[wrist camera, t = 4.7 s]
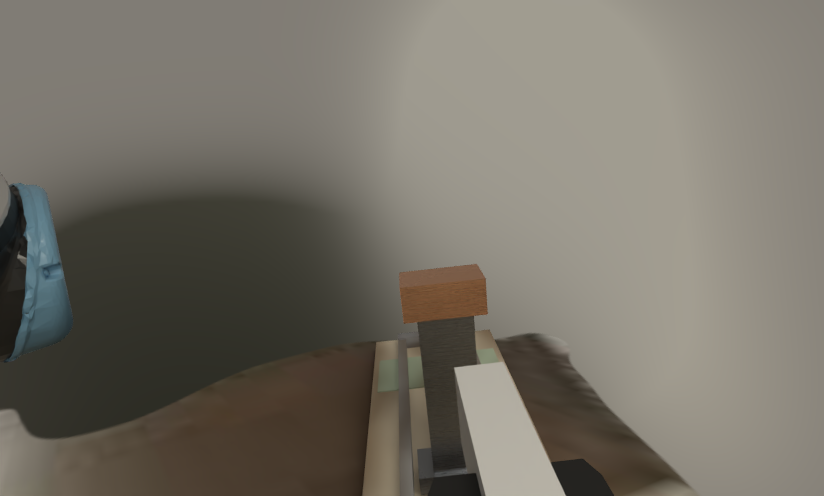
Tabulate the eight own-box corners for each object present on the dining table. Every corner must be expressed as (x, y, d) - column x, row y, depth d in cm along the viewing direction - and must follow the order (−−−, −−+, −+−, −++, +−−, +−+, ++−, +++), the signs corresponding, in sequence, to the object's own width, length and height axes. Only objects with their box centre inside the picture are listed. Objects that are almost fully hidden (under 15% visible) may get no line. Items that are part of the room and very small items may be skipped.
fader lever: (421, 495, 25) (395, 288, 22) (418, 464, 27) (395, 273, 24) (501, 486, 25) (489, 277, 22) (492, 456, 27) (480, 263, 24)
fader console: (360, 599, 22) (352, 552, 21) (378, 358, 45) (375, 331, 44) (588, 572, 22) (589, 525, 21) (490, 346, 45) (488, 319, 44)
